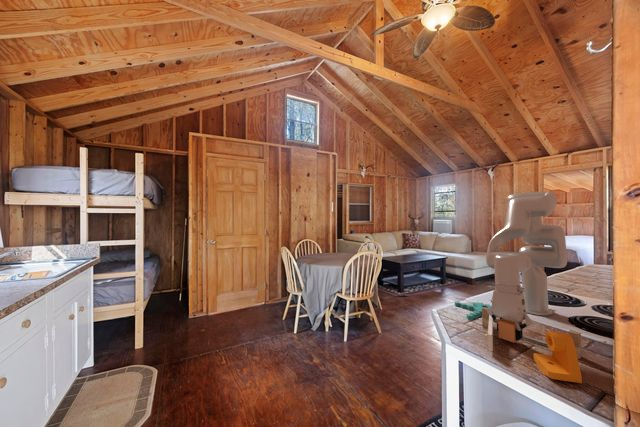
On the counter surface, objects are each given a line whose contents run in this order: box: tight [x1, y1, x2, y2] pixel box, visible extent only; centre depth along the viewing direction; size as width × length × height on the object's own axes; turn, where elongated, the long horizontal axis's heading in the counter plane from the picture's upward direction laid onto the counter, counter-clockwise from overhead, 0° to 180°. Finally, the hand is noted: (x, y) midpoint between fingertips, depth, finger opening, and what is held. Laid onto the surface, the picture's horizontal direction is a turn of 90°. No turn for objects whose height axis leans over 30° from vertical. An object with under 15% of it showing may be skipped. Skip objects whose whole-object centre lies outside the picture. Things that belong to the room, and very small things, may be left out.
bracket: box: [533, 330, 583, 384], centre depth 77 cm, size 11×7×12 cm, turn 160°
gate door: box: [484, 315, 494, 352], centre depth 98 cm, size 2×24×6 cm, turn 146°
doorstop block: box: [498, 318, 517, 344], centre depth 96 cm, size 5×5×6 cm
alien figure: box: [454, 301, 504, 322], centre depth 125 cm, size 20×2×20 cm
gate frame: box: [481, 307, 583, 360], centre depth 97 cm, size 3×30×8 cm, turn 32°
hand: (509, 336), depth 96 cm, fingers closed on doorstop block, 5 cm apart
